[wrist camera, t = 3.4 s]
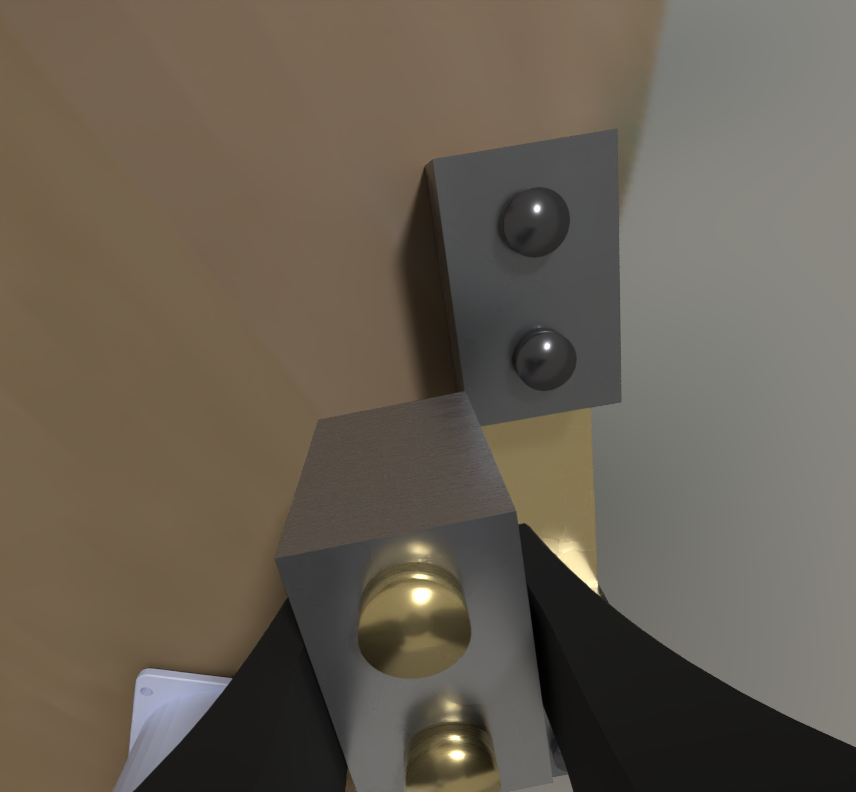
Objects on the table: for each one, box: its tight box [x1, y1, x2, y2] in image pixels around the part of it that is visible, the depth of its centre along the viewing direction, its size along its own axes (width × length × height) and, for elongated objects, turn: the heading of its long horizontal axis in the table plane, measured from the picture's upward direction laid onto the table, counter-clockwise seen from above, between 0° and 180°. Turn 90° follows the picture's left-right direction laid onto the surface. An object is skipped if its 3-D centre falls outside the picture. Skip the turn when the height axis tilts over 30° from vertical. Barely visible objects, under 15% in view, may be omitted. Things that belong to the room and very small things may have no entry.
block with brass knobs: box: [275, 391, 553, 792], centre depth 10 cm, size 6×4×6 cm, turn 10°
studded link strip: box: [425, 129, 621, 777], centre depth 20 cm, size 26×5×4 cm, turn 9°
